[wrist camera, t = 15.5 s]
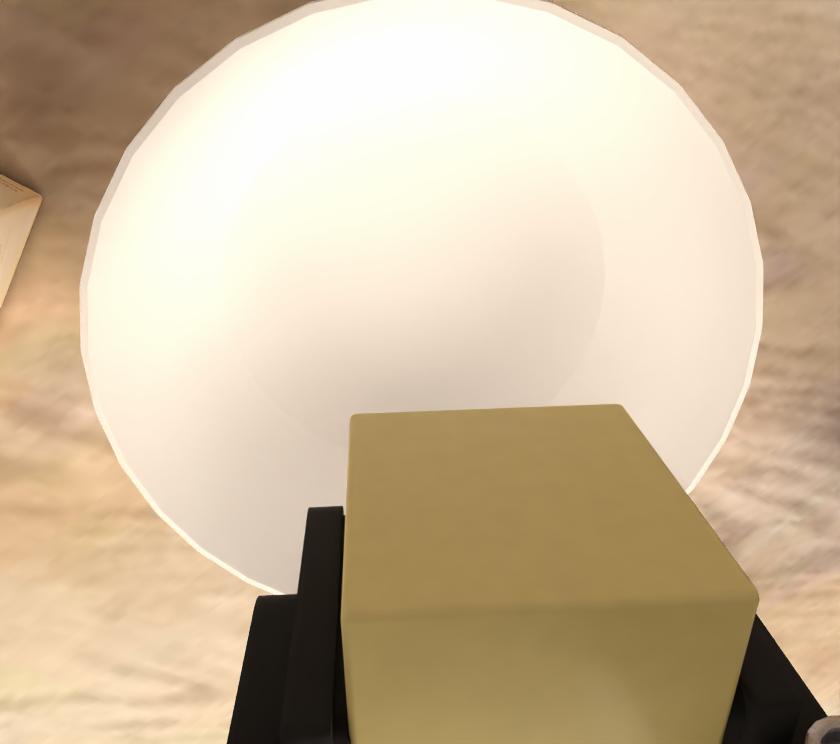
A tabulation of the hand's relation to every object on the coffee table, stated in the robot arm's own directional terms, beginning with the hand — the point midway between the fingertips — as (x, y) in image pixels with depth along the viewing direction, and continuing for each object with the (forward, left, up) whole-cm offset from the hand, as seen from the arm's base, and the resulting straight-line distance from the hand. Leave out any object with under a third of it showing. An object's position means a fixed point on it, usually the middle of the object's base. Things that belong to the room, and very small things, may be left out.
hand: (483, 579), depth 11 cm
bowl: (0, 0, -16) cm, 16 cm away
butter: (0, 0, 0) cm, 0 cm away
